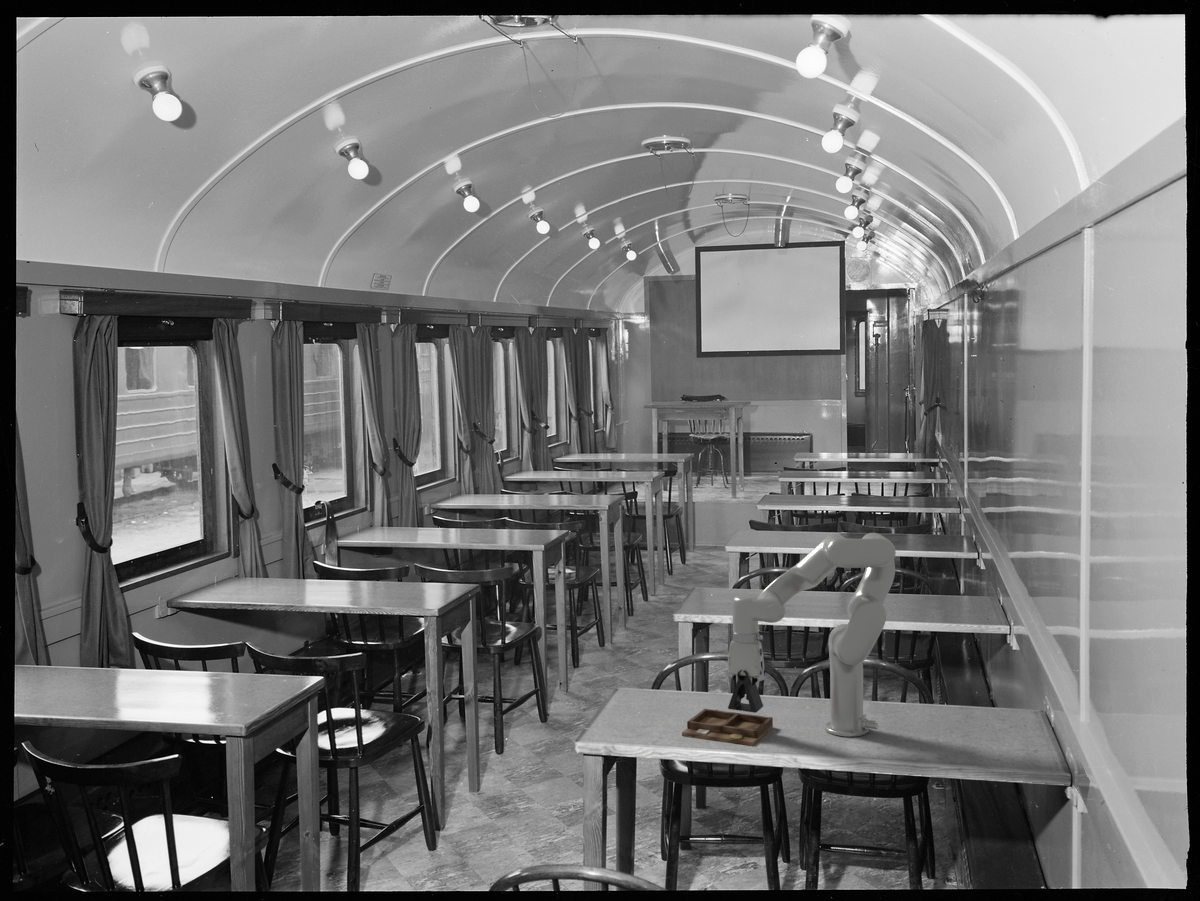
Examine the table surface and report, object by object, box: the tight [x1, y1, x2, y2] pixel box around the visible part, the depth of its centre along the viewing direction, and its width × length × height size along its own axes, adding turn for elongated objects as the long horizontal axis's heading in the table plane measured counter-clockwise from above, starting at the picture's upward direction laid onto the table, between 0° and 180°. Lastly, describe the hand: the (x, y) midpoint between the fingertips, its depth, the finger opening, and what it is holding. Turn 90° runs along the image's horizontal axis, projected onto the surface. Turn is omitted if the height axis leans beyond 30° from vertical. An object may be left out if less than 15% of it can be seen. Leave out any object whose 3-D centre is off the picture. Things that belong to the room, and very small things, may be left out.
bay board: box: [681, 708, 774, 747], centre depth 319 cm, size 22×18×3 cm
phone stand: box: [727, 670, 764, 714], centre depth 318 cm, size 9×6×12 cm, turn 62°
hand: (745, 698), depth 318 cm, fingers closed on phone stand, 1 cm apart
